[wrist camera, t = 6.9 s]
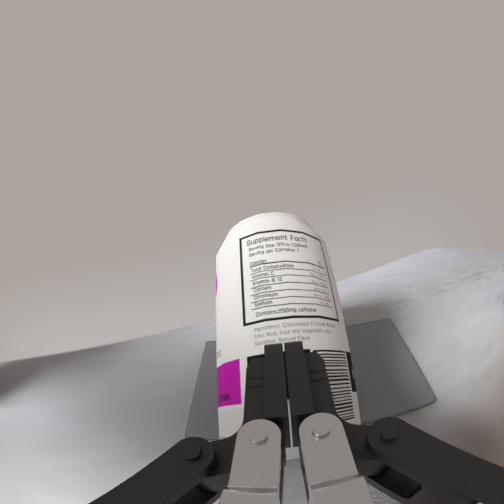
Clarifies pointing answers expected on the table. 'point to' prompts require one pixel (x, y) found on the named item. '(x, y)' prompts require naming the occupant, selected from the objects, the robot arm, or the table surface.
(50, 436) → the table surface
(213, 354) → the mat
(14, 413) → the table surface
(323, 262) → the supplement can
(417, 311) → the table surface
